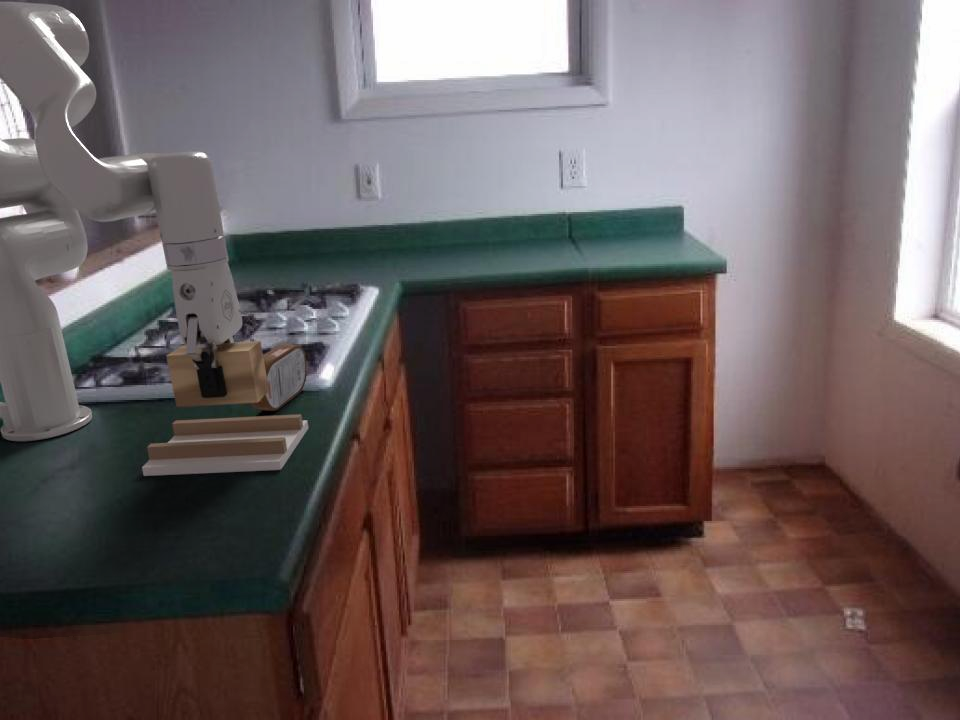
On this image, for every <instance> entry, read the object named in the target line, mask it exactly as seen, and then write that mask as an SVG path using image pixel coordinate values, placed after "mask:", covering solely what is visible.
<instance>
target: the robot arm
mask: <svg viewBox="0 0 960 720" xmlns="http://www.w3.org/2000/svg"><path fill="white" fill-rule="evenodd" d="M89 53H90V41H89V36H88V33H87V31H86V29H85V26H84V25H83V24H82V22H81V21H80V19H79V18H78V17H77V16H76V15H75V14H74V13H73V12H71V11H70V10H68V9H67V8H64V7H62V6H60V5H57V4H48V3H34V2H33V3H32V2H21V1H18V2H17V1H0V80H1V81H2V82H3V83H4V85H6V87H7V88H8V89H9V90H10V91H11V93H13V95H14V96H15V97H16V98H17V99H18V101H19V102H20V103H21V104H22V105H23V106H24V108H25V109H27V111H28V112H29V113H30V114H31V115H32V116H33V117H34V120H35V126H34V131H33V132H34V135H33V136H34V138H25V137H20V138H19V137H17V138H15V137H14V138H5V139H4V138H3V139H2V138H0V209H5V208H6V209H7V208H12V207H17V206H18V207H19V206H22V207H23V209H24V211H25V214H24V213H23V214H15V215H10V216H4V217H0V385H1V388H2V393H3V398H4V401H5V402H3V401H0V419H1V420H3V424H2V425H1V427H0V433H1V437H2V438H3V439H5V440H7V441H11V442H12V441H13V442H33V441H40V440H45V439H51V438H54V437H59V436H63V435H65V434H68V433H72V432H73V431H75V430H78V429H80V428H82V427H83V426H86V425H87V424H88V423H89V422H91V420H92V419H93V412H92V409H91V408H90V407H88V406H85V405H79V400H78V396H77V392H76V387H75V383H74V378H73V373H72V370H71V366H70V361H69V358H68V353H67V352H68V351H67V347H66V343H65V339H64V334H63V331H62V326H61V321H60V317H59V314H58V310H57V307H56V305H55V303H54V302H53V301H52V299H51V298H50V297H49V295H47V294H46V292H44V291H43V289H42V288H41V287H40V286H39V285H38V284H37V283H36V281H38V280H41V279H44V278H47V277H51V276H56V275H58V274H62V273H67V272H69V271H72V270H75V269H77V268H79V267H81V265H82V264H83V263H84V261H85V260H86V258H87V254H88V251H89V250H88V244H89V243H88V237H87V234H86V231H85V230H86V229H85V227H84V224H83V221H82V219H81V216H80V214H81V215H82V216H84V217H86V218H88V219H89V220H92V221H96V222H99V223H101V222H103V223H106V222H115V221H119V220H123V219H128V218H132V217H133V218H134V217H137V216H144V215H150V214H155V213H156V219H157V225H158V230H159V233H160V239H161V244H162V250H163V254H164V260H165V264H166V269H167V270H168V271H171V281H172V290H173V291H172V292H173V299H174V301H173V302H174V307H175V313H176V319H177V325H178V330H179V334H180V339H181V342H182V343H183V346H186V354H187V356H189V357H190V358H191V359H192V361H193V362H194V367H195V369H196V370H197V375H198V380H199V385H200V391H201V396H202V397H203V398H215V397H224V396H226V394H227V390H226V385H225V380H224V374H223V369H222V366H219V363H218V352H217V345H221V344H223V343H235V340H234V338H235V334H237V333H238V332H239V331H240V330H241V329H242V327H243V317H242V313H241V308H240V303H239V299H238V295H237V291H236V286H235V282H234V278H233V275H232V271H231V269H230V265H229V253H228V248H227V243H226V236H225V232H224V226H223V221H222V216H221V210H220V204H219V199H218V198H219V197H218V192H217V187H216V180H215V175H214V171H213V166H212V160H211V159H210V157H209V156H208V155H207V154H206V153H204V152H203V151H195V150H194V151H183V152H182V151H181V152H172V153H159V152H158V153H157V152H142V153H135V154H125V155H116V156H109V157H108V156H106V157H100V158H96V156H94V155H93V154H92V153H91V152H90V151H89V150H88V149H87V147H86V146H85V145H84V144H83V143H82V142H81V141H80V139H79V138H78V137H77V136H76V134H75V133H74V132H73V129H72V128H73V127H75V126H76V125H78V124H79V123H80V122H82V121H83V120H84V119H85V118H86V117H87V115H88V114H89V113H90V112H91V110H92V109H93V107H94V105H95V103H96V99H97V90H96V86H95V84H94V82H93V81H92V80H91V78H90V77H89V76H88V75H87V74H86V73H85V72H84V71H83V69H81V66H83V65H84V64H85V62H86V61H87V59H88V57H89ZM203 340H206V341H207V342H208V343H201V341H203ZM209 348H210V355H209V354H208V353H207V352H206V351H204V352H203V351H202V349H209Z"/></svg>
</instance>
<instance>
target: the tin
mask: <svg viewBox="0 0 960 720" xmlns="http://www.w3.org/2000/svg"><path fill="white" fill-rule="evenodd" d="M263 358H264V364H265V370H266V376H267V382H268V387H269V392H268V393H267V394H266V395H265V396H264V397H263V398H262V399H261V400H260V401H259V402H258V403H251V405H252V407H253V408H254V409H255V410H257V411H259V412H263V411H265V412H266V411H267V412H276V411H277V410H278V411H279V409H281V408H282V407H283V406H285V405H286V404H287V403H288V402H290V401H292V400H293V399H294V398H295V397H297V396H299V394H300V393H301V392H302V391H303V389H304V387H305V384H306V381H307V375H308V374H307V373H308V371H307V361H306V360H307V359H306V352H305V350H304V348H303V347H302V346H300V345H298V344H288V343H281V344H279V345H278V346H276V347H275V348H273V349H271V350H270V351H267V352H266V353H265V354H264V353H263Z"/></svg>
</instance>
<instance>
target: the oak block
mask: <svg viewBox="0 0 960 720" xmlns="http://www.w3.org/2000/svg"><path fill="white" fill-rule="evenodd" d="M202 351H203V352H204V351H206V352H207V353H208V354H209V355H210V348H209V349H202ZM217 352H218V363H219V366H222V369H223V374H224V380H225V385H226V390H227V394H226V396H224V397H215V398H203V397H202V396H201V391H200V385H199V380H198V375H197V370H196V369H195V367H194V362H193V361H192V359H191V358H190V357H189V356H187V354H186V345H181V346H179V347H178V348H176V349H174V350H173V351H171V352H170V353H168V354H166V362H167V366H168V372H169V375H170V381H171V386H172V391H173V396H174V400H175V404H176V407H177V408H180V407H183V408H184V407H201V406H202V407H204V406H218V405H219V406H221V405H237V404H252V403H258V402H259V401H260V400H261V399H262V398H263V397H264V396H265V395H266V394H267V393H268V392H269V387H268V382H267V376H266V370H265V364H264V358H263V355H264V353H263V347H262V341H261V340H255V341H237V342H235V341H234V343H223V344H221V345H217Z"/></svg>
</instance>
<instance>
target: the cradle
mask: <svg viewBox="0 0 960 720" xmlns="http://www.w3.org/2000/svg"><path fill="white" fill-rule="evenodd" d="M171 425H172V429H173V434H174V435H173V436H172V437H171V438H170V440H169V441H168V442H159V443H158V442H155V443H149V444H148V445H147V447H146V449H147V453H148V454H147V455H148V458H149V459H148V461H147V462H146V463H144V465H143V466H142V467H141V469H142V474H143V476H144V477H148V476H152V477H153V476H169V475H170V476H171V475H172V476H173V475H175V476H176V475H192V474H194V475H195V474H196V475H198V474H215V473H216V474H218V473H236V472H239V473H240V472H257V471H258V472H259V471H261V472H262V471H281V470H282V468H283V467H284V466H285V464H286V463H287V461H288V460H289V458H290V457H291V455H292V454H293V452H294V450H295V449H296V448H297V446H298V445H299V444H300V442H301V440H302V439H303V437H304V436H305V434H306V433H307V432H308V429H309V423H308V420H305V419H304V420H303V416H302V414H300V413H299V414H281V415H280V414H279V415H261V416H260V415H259V416H241V417H224V418H223V417H221V418H199V419H181V420H175V421H173V422H172V423H171Z"/></svg>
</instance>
